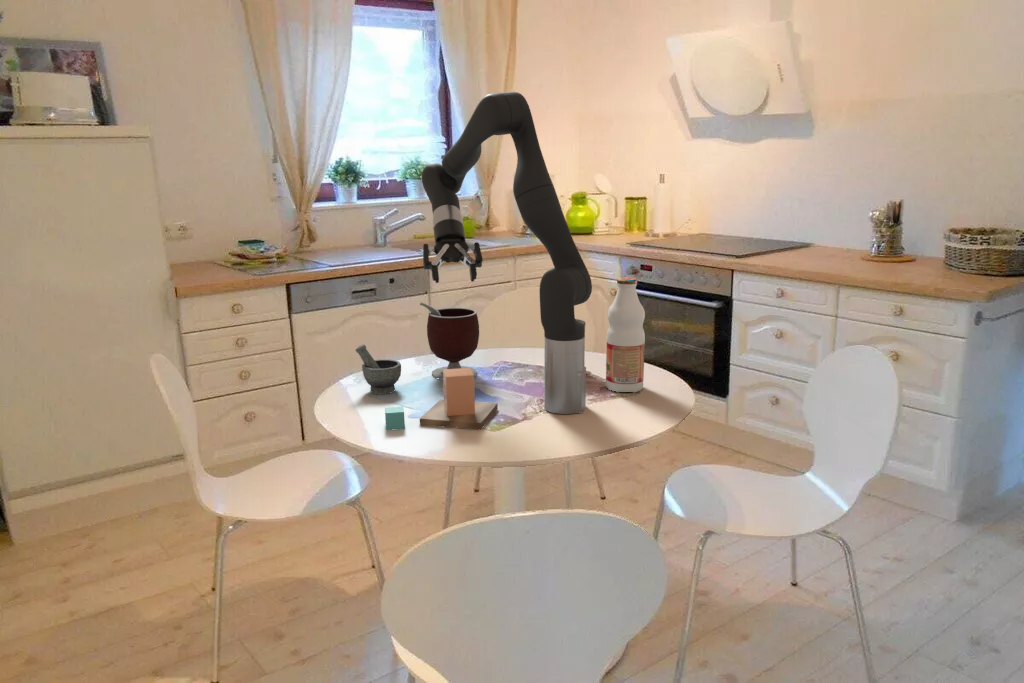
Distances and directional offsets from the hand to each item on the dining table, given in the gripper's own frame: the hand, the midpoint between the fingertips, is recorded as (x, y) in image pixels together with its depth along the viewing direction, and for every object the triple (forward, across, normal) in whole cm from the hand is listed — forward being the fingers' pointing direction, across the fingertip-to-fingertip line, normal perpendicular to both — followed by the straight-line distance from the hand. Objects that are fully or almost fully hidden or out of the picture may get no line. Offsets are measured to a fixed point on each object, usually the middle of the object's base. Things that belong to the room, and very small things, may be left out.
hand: (455, 280), depth 185 cm
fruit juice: (+23, +42, +18) cm, 51 cm away
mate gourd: (+7, 0, +34) cm, 34 cm away
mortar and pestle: (+15, -19, +26) cm, 36 cm away
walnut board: (+32, -2, +8) cm, 33 cm away
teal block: (+34, -16, +6) cm, 39 cm away
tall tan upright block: (+31, -2, +8) cm, 32 cm away
